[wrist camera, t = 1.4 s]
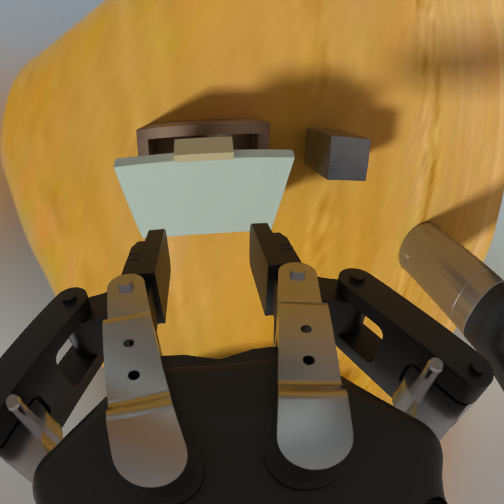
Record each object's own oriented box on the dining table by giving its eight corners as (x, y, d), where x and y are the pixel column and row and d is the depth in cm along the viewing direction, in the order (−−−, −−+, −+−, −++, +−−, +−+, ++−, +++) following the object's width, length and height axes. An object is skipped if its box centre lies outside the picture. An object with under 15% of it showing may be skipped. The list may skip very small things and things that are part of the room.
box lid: (292, 137, 20) (297, 152, 19) (268, 217, 30) (271, 231, 29) (114, 146, 18) (110, 162, 18) (143, 225, 28) (142, 239, 28)
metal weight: (340, 130, 32) (370, 139, 26) (337, 164, 34) (365, 180, 28) (306, 127, 31) (331, 135, 25) (304, 163, 34) (327, 179, 28)
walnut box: (257, 118, 30) (269, 123, 25) (255, 202, 35) (265, 222, 30) (147, 124, 28) (136, 129, 23) (154, 208, 33) (146, 230, 28)
